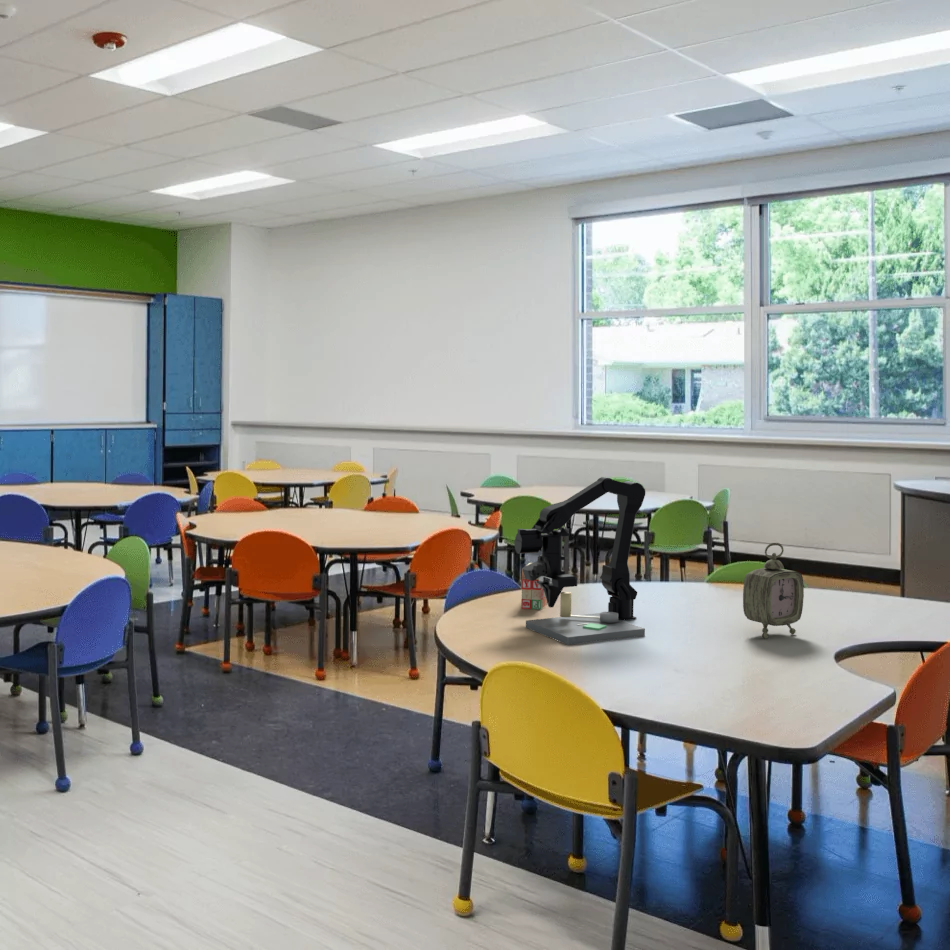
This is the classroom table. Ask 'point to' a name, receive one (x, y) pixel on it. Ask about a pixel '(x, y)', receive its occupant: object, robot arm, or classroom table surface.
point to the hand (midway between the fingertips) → (551, 607)
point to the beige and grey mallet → (566, 612)
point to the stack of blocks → (532, 594)
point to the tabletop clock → (773, 594)
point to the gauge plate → (583, 629)
